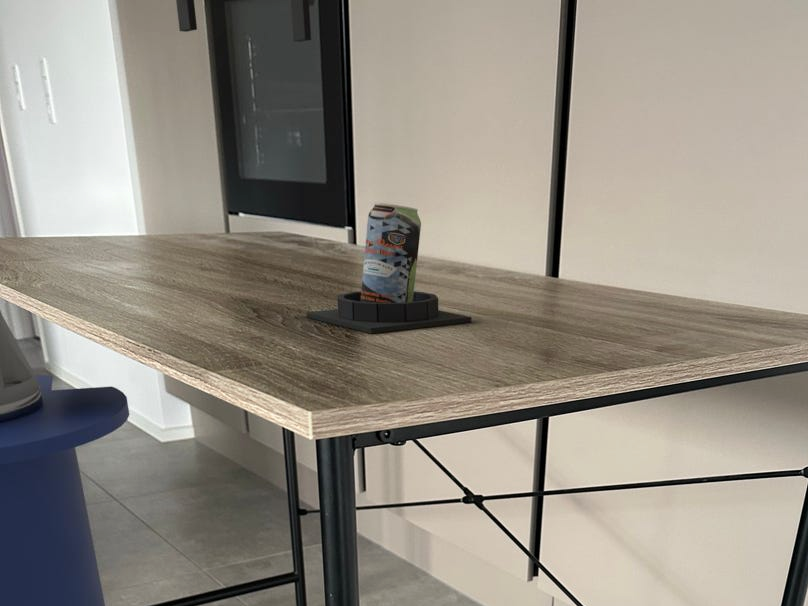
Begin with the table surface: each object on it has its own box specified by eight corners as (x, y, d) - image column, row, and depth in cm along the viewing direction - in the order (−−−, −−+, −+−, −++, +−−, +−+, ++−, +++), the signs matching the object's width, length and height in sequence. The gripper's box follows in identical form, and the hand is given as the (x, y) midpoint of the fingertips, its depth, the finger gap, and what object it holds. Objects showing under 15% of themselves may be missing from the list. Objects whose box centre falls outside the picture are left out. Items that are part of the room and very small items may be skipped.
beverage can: (350, 314, 110) (345, 201, 105) (398, 308, 115) (395, 200, 110) (384, 320, 106) (380, 204, 101) (432, 314, 111) (431, 202, 106)
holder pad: (371, 333, 102) (370, 308, 101) (306, 317, 112) (304, 294, 111) (471, 322, 110) (471, 298, 109) (403, 307, 120) (402, 286, 118)
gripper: (316, -182, 103) (328, 46, 112) (85, -239, 89) (121, 28, 98) (353, -199, 97) (362, 42, 107) (113, -262, 83) (149, 22, 93)
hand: (247, 36), depth 103 cm, fingers open, 13 cm apart
